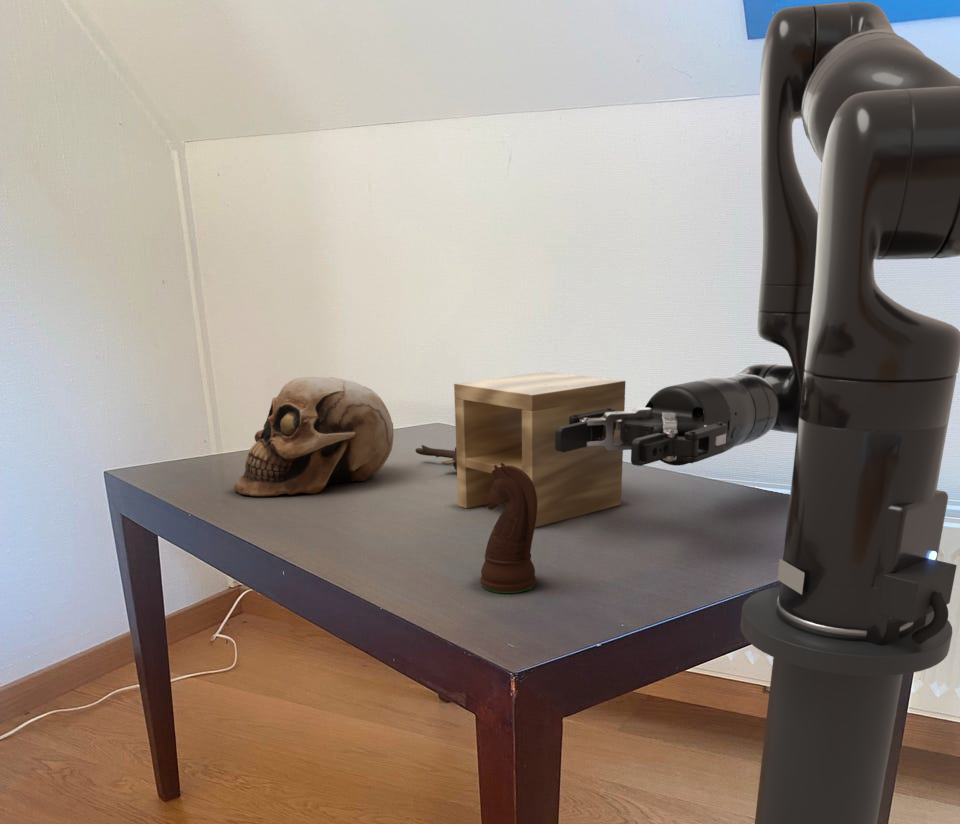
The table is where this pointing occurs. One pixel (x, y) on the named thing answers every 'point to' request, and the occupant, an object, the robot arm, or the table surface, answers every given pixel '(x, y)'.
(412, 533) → the table surface
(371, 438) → the tan skull
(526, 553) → the chess piece
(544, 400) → the stand
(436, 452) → the tree branch
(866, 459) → the robot arm
